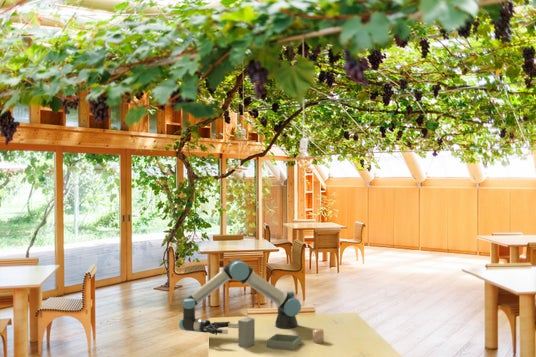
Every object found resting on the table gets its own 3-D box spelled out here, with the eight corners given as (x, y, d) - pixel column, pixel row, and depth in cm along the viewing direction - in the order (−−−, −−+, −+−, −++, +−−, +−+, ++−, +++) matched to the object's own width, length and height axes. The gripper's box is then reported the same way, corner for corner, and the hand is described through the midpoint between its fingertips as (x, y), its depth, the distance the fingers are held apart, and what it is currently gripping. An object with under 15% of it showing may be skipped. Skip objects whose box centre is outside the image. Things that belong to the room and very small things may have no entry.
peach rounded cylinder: (311, 342, 304) (311, 331, 305) (315, 339, 310) (314, 328, 310) (321, 343, 302) (321, 332, 302) (325, 340, 308) (324, 329, 308)
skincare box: (247, 342, 308) (246, 316, 308) (255, 344, 303) (255, 318, 304) (237, 346, 301) (237, 319, 302) (246, 348, 297) (245, 321, 297)
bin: (266, 347, 298) (266, 340, 298) (276, 340, 311) (276, 333, 311) (292, 350, 291) (292, 343, 291) (301, 342, 304) (301, 336, 304)
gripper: (191, 324, 303) (222, 327, 295) (212, 315, 326) (241, 317, 318) (191, 337, 303) (222, 340, 295) (212, 326, 326) (242, 329, 317)
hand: (232, 328), depth 306 cm, fingers open, 13 cm apart
